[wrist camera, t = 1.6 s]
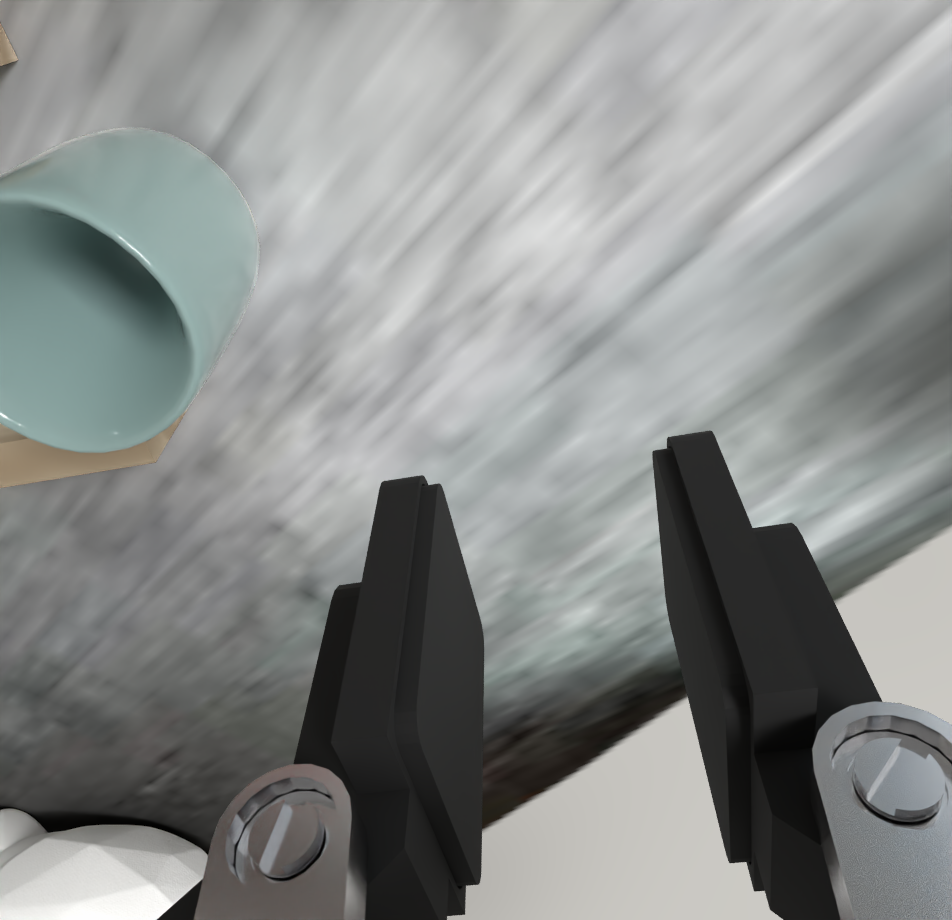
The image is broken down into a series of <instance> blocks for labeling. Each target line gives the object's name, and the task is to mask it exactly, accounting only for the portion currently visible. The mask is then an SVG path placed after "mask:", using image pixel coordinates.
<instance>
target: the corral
mask: <svg viewBox="0 0 952 920" xmlns="http://www.w3.org/2000/svg"><path fill="white" fill-rule="evenodd" d="M17 60H18V58H17V56H16V54H15V52H14V50H13V48H12V46H11V44H10V42H9V40H8V38H7V36H6V34H5V32H4V29H3V27H2V25H1V23H0V66H2V65H5V64H8V63H11V62H14V61H17ZM187 410H188V409H187ZM187 410H186V411H187ZM186 411H185V412H184V413H183V414H182V415H181V416H180V417H179V418H178V419H177V420H176V421H175V422H174V423H173V424H172V425H171V426H170V427H168V428H167V429H165V430H164V431H162V432H161V433H159V434H158V435H156V436H155V437H153V438H152V439H150V440H148V441H146V442H143V443H141V444H138V445H136V446H133V447H131V448H127V449H122V450H117V451H112V452H106V453H79V452H74V451H69V450H63V449H58V448H54V447H51V446H48V445H46V444H43V443H40V442H37V441H34V440H32V439H29V438H27V437H25V436H23V435H21V434H19V433H17V432H15V431H13V430H11V429H9V428H7V427H5V426H4V425H2V424H1V423H0V488H4V487H10V486H16V485H22V484H28V483H34V482H41V481H47V480H53V479H59V478H65V477H71V476H77V475H83V474H89V473H95V472H101V471H107V470H113V469H119V468H125V467H132V466H138V465H144V464H150V463H156V461H157V460H158V458H159V456H160V455H161V453H162V451H163V450H164V448H165V446H166V445H167V443H168V441H169V440H170V438H171V436H172V435H173V433H174V431H175V430H176V428H177V426H178V425H179V423H180V421H181V420H182V418H183V416H184V415H185V413H186Z"/></svg>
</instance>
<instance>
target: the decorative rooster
mask: <svg viewBox="0 0 952 920" xmlns="http://www.w3.org/2000/svg"><path fill="white" fill-rule="evenodd" d="M207 859H208V855H207V854H206V853H205V852H204V851H203V850H202V849H201V848H199V847H197V846H196V845H194V844H192V843H191V842H189V841H187V840H185V839H182V838H180V837H178V836H176V835H174V834H171V833H169V832H166V831H163V830H160V829H157V828H152V827H148V826H138V825H91V826H83V827H78V828H74V829H70V830H66V831H58V832H51V833H48V832H47V831H46V830H45V829H44V828H43V827H42V826H41V824H40V823H39V822H37V821H36V820H35V819H34V818H33V817H31V816H30V815H29V814H27V813H25V812H23V811H20V810H17V809H10V808H8V809H2V810H0V920H157V919H158V918H159V917H160V916H161V915H162V914H163V913H165V912H166V911H167V910H168V909H169V908H170V907H171V906H173V905H174V904H175V903H176V902H177V901H178V900H179V899H180V898H182V897H183V896H184V895H185V894H186V893H187V892H188V891H189V890H191V889H192V888H193V887H194V886H195V885H196V884H197V883H198V882H200V881H201V880H202V879H203V876H204V872H205V868H206V863H207Z"/></svg>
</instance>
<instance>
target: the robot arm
mask: <svg viewBox="0 0 952 920" xmlns="http://www.w3.org/2000/svg"><path fill="white" fill-rule="evenodd" d="M653 468H654V478H655V489H656V500H657V511H658V522H659V532H660V543H661V554H662V565H663V576H664V586H665V597H666V604H667V611H668V616H669V621H670V626H671V630H672V634H673V638H674V642H675V646H676V650H677V654H678V658H679V662H680V667H681V671H682V675H683V679H684V683H685V687H686V691H687V695H688V699H689V703H690V708H691V711H692V716H693V720H694V724H695V728H696V732H697V736H698V740H699V745H700V749H701V752H702V757H703V761H704V765H705V769H706V773H707V777H708V782H709V786H710V790H711V794H712V798H713V802H714V806H715V810H716V814H717V818H718V823H719V827H720V831H721V835H722V839H723V843H724V847H725V851H726V855H727V858H728V861H729V863H738V862H747V866H748V870H749V874H750V877H751V881H752V885H753V889H754V891H765V893H766V896H767V900H768V904H769V907H770V910H771V911H773V912H774V913H775V914H777V915H778V916H779V917H781V918H782V919H783V920H952V725H951V724H949V723H947V722H946V721H944V720H942V719H940V718H938V717H937V716H935V715H933V714H931V713H929V712H927V711H924V710H921V709H918V708H914V707H911V706H907V705H904V704H901V703H889V702H882V700H881V698H880V696H879V694H878V692H877V690H876V688H875V686H874V683H873V681H872V680H871V678H870V675H869V673H868V671H867V669H866V667H865V665H864V663H863V661H862V659H861V657H860V655H859V653H858V650H857V648H856V646H855V644H854V642H853V640H852V638H851V636H850V634H849V632H848V630H847V628H846V626H845V624H844V622H843V620H842V617H841V615H840V613H839V611H838V609H837V607H836V605H835V603H834V601H833V599H832V597H831V595H830V593H829V591H828V588H827V586H826V584H825V582H824V580H823V578H822V576H821V574H820V572H819V570H818V568H817V566H816V564H815V562H814V560H813V558H812V555H811V553H810V551H809V549H808V547H807V545H806V543H805V541H804V539H803V537H802V535H801V533H800V532H799V530H798V528H797V527H796V526H795V525H794V524H793V523H787V524H779V525H772V526H765V527H758V528H752V526H751V523H750V521H749V518H748V516H747V514H746V511H745V509H744V506H743V504H742V501H741V499H740V497H739V494H738V492H737V489H736V487H735V484H734V482H733V480H732V477H731V475H730V472H729V470H728V467H727V465H726V463H725V460H724V458H723V455H722V453H721V450H720V448H719V446H718V443H717V441H716V438H715V436H714V434H713V432H712V431H705V432H698V433H692V434H685V435H679V436H672V437H668V438H667V449H662V450H655V451H653ZM483 696H484V637H483V630H482V624H481V620H480V616H479V613H478V609H477V606H476V602H475V599H474V595H473V592H472V588H471V585H470V581H469V578H468V574H467V571H466V567H465V564H464V561H463V557H462V554H461V550H460V547H459V543H458V540H457V536H456V533H455V529H454V526H453V522H452V519H451V515H450V512H449V508H448V505H447V501H446V498H445V494H444V491H443V488H442V486H441V484H433V485H428V483H427V481H426V479H425V477H424V476H422V475H421V476H415V477H408V478H402V479H395V480H389V481H383V482H382V483H381V486H380V490H379V495H378V500H377V505H376V510H375V515H374V521H373V526H372V531H371V536H370V541H369V546H368V552H367V557H366V562H365V567H364V572H363V578H362V582H360V583H353V584H346V585H339V586H338V587H337V588H336V590H335V591H334V594H333V597H332V600H331V605H330V609H329V613H328V618H327V622H326V626H325V631H324V635H323V639H322V643H321V648H320V652H319V656H318V661H317V665H316V669H315V674H314V678H313V682H312V687H311V691H310V695H309V700H308V704H307V708H306V713H305V717H304V721H303V726H302V730H301V734H300V739H299V743H298V747H297V752H296V756H295V760H294V764H293V765H288V766H285V767H282V768H279V769H275V770H272V771H270V772H268V773H266V774H265V775H263V776H261V777H260V778H258V779H256V780H255V781H253V782H251V783H250V784H249V785H248V786H247V787H246V788H245V789H244V790H243V791H242V792H240V793H239V794H238V795H237V796H236V797H235V798H234V799H233V800H232V802H231V803H230V805H229V806H228V808H227V809H226V811H225V812H224V814H223V815H222V817H221V818H220V820H219V822H218V825H217V828H216V830H215V833H214V836H213V838H212V841H211V846H210V850H209V854H208V859H207V863H206V868H205V872H204V876H203V879H202V880H201V881H200V882H198V883H197V884H196V885H195V886H194V887H193V888H192V889H191V890H189V891H188V892H187V893H186V894H185V895H184V896H183V897H182V898H180V899H179V900H178V901H177V902H176V903H175V904H174V905H173V906H171V907H170V908H169V909H168V910H167V911H166V912H165V913H163V914H162V915H161V916H160V917H159V918H158V919H157V920H447V916H452V915H465V893H466V885H478V884H479V883H480V878H481V853H482V850H481V849H482V774H483Z"/></svg>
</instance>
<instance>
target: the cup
mask: <svg viewBox="0 0 952 920" xmlns="http://www.w3.org/2000/svg"><path fill="white" fill-rule="evenodd" d="M259 258H260V242H259V236H258V230H257V226H256V222H255V220H254V217H253V215H252V212H251V209H250V207H249V205H248V203H247V201H246V200H245V198H244V196H243V195H242V193H241V191H240V190H239V188H238V187H237V185H236V184H235V183H234V182H233V180H232V179H231V178H230V177H229V176H228V174H227V173H226V172H225V171H224V170H223V169H222V168H221V167H220V166H219V165H218V164H217V163H216V162H214V161H213V160H212V159H211V158H210V157H209V156H208V155H206V154H205V153H203V152H202V151H200V150H199V149H198V148H196V147H195V146H193V145H192V144H190V143H188V142H186V141H184V140H182V139H180V138H177V137H175V136H173V135H171V134H168V133H164V132H160V131H156V130H152V129H148V128H112V129H108V130H103V131H99V132H95V133H91V134H87V135H83V136H80V137H77V138H74V139H71V140H68V141H66V142H64V143H61V144H59V145H56V146H54V147H52V148H50V149H48V150H46V151H44V152H42V153H40V154H38V155H37V156H35V157H33V158H31V159H29V160H27V161H25V162H23V163H21V164H20V165H18V166H16V167H14V168H12V169H10V170H8V171H7V172H5V173H3V174H1V175H0V423H1V424H2V425H4V426H5V427H7V428H9V429H11V430H13V431H15V432H17V433H19V434H21V435H23V436H25V437H27V438H29V439H32V440H34V441H37V442H40V443H43V444H46V445H48V446H51V447H54V448H58V449H63V450H69V451H74V452H79V453H106V452H112V451H117V450H122V449H127V448H131V447H133V446H136V445H138V444H141V443H143V442H146V441H148V440H150V439H152V438H153V437H155V436H156V435H158V434H159V433H161V432H162V431H164V430H165V429H167V428H168V427H170V426H171V425H172V424H173V423H174V422H175V421H176V420H177V419H178V418H179V417H180V416H181V415H182V414H183V413H184V412H185V411H186V410H187V409H188V408H189V406H190V405H191V404H192V403H193V401H194V400H195V398H196V397H197V395H198V394H199V392H200V391H201V389H202V387H203V386H204V384H205V383H206V381H207V379H208V378H209V376H210V375H211V373H212V371H213V370H214V368H215V367H216V365H217V363H218V361H219V360H220V358H221V356H222V355H223V353H224V351H225V350H226V348H227V346H228V345H229V343H230V341H231V339H232V337H233V336H234V334H235V332H236V330H237V328H238V326H239V324H240V323H241V320H242V318H243V316H244V314H245V312H246V309H247V307H248V304H249V301H250V298H251V295H252V293H253V290H254V287H255V284H256V280H257V276H258V270H259Z"/></svg>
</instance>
